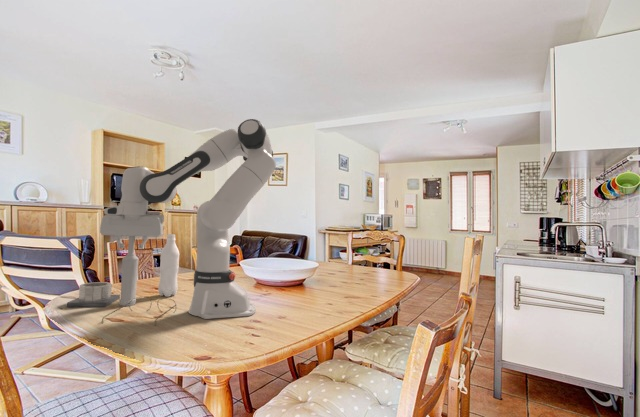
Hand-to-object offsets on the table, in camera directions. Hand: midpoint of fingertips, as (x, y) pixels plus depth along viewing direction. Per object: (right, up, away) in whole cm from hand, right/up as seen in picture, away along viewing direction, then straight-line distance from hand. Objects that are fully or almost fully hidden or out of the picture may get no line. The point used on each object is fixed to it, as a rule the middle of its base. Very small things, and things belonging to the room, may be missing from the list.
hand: (131, 248), depth 117 cm
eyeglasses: (+12, -21, -15) cm, 28 cm away
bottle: (-1, -20, -1) cm, 20 cm away
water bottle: (+6, -21, +15) cm, 27 cm away
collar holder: (-13, -20, 0) cm, 24 cm away
